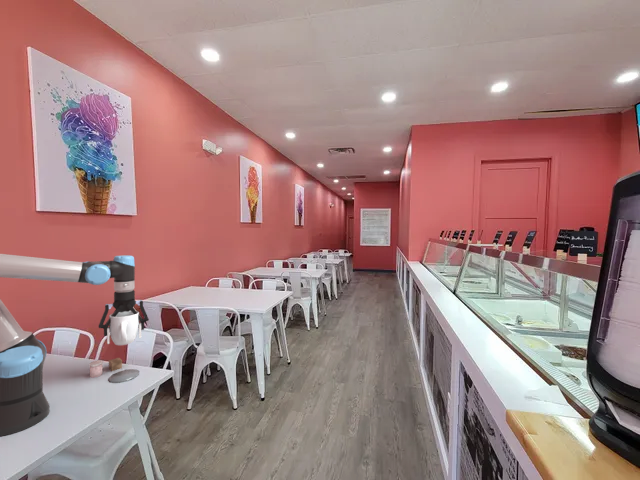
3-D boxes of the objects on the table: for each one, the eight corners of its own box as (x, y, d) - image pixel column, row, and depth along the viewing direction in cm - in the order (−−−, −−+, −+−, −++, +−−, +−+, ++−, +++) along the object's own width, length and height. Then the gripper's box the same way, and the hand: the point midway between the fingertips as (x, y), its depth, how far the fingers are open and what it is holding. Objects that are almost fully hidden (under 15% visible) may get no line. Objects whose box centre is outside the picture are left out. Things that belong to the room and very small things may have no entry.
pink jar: (89, 379, 123) (89, 365, 123) (89, 374, 127) (89, 361, 127) (102, 375, 126) (102, 363, 126) (102, 371, 129) (102, 359, 129)
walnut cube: (111, 371, 130) (111, 362, 130) (108, 368, 132) (108, 360, 132) (121, 368, 133) (121, 359, 133) (118, 365, 136) (118, 357, 136)
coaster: (109, 385, 118) (109, 384, 118) (108, 375, 127) (108, 373, 127) (140, 377, 124) (140, 376, 124) (138, 368, 133) (138, 367, 133)
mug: (139, 347, 121) (139, 316, 121) (107, 352, 115) (107, 320, 115) (138, 336, 134) (138, 309, 133) (110, 341, 128) (109, 312, 127)
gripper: (90, 295, 115) (90, 349, 115) (156, 289, 129) (156, 337, 129) (90, 292, 121) (91, 343, 121) (153, 286, 135) (153, 332, 135)
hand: (124, 340), depth 125 cm, fingers closed on mug, 11 cm apart
